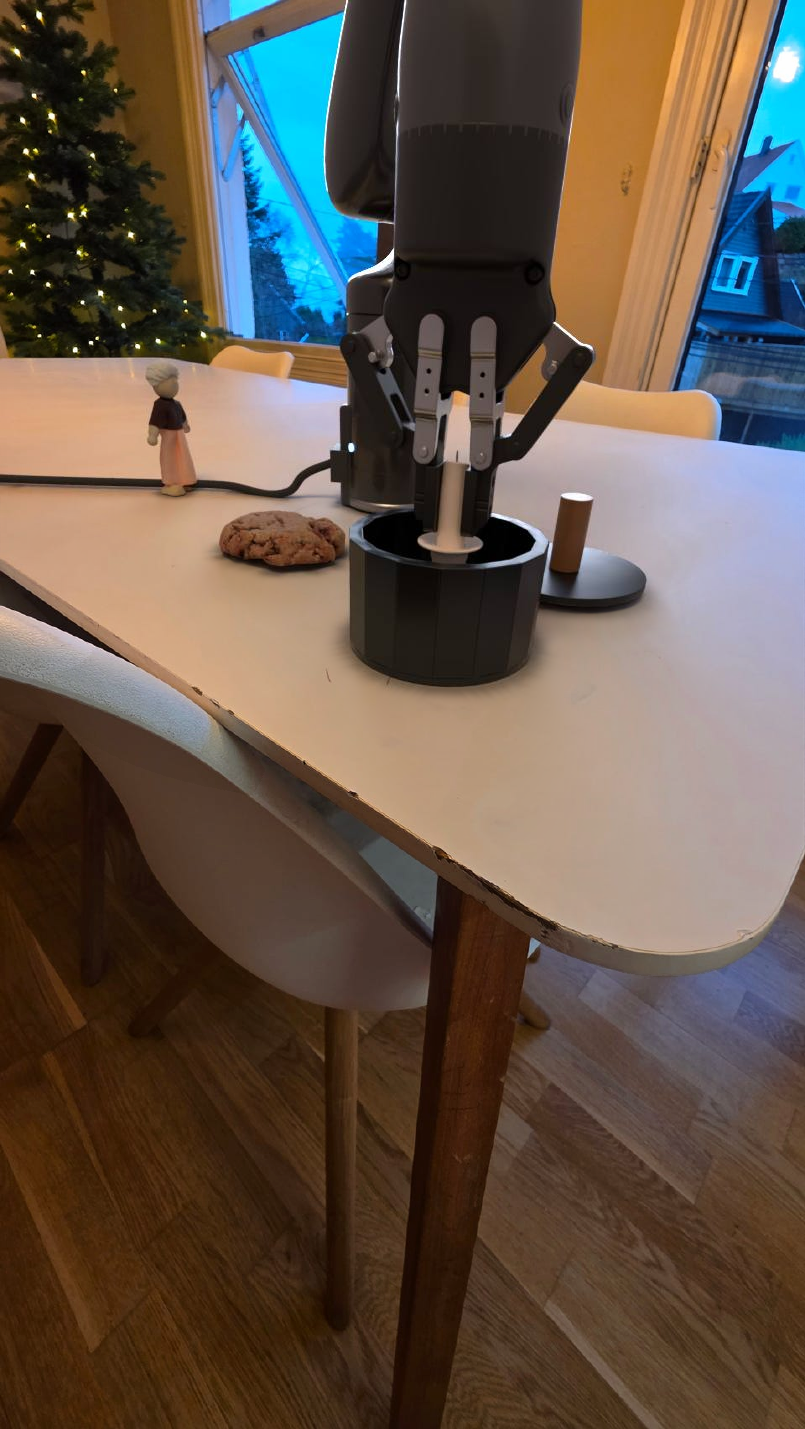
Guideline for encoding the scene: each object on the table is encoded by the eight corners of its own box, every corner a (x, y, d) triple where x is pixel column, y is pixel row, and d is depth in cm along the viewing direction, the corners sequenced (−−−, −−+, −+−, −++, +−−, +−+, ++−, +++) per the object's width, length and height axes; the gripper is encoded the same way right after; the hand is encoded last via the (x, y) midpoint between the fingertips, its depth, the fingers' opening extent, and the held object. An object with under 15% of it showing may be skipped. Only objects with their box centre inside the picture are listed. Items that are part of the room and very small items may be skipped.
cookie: (227, 534, 57) (224, 500, 55) (344, 535, 58) (343, 502, 57) (211, 573, 49) (205, 535, 47) (347, 573, 50) (346, 536, 48)
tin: (320, 664, 37) (315, 549, 33) (385, 595, 47) (388, 498, 43) (512, 702, 34) (531, 582, 31) (541, 621, 44) (559, 520, 40)
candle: (426, 601, 43) (437, 438, 37) (497, 619, 41) (519, 449, 35) (387, 628, 39) (392, 451, 33) (463, 650, 37) (481, 465, 31)
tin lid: (467, 598, 47) (476, 507, 43) (498, 548, 57) (508, 471, 53) (642, 626, 44) (668, 530, 40) (643, 568, 54) (664, 487, 50)
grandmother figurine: (187, 499, 66) (168, 363, 59) (151, 497, 66) (127, 361, 59) (207, 482, 73) (192, 357, 66) (174, 480, 73) (155, 355, 66)
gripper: (646, 150, 29) (575, 529, 38) (366, 155, 32) (364, 502, 41) (647, 105, 22) (561, 569, 32) (301, 117, 26) (316, 533, 35)
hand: (450, 530), depth 37 cm, fingers closed on candle
